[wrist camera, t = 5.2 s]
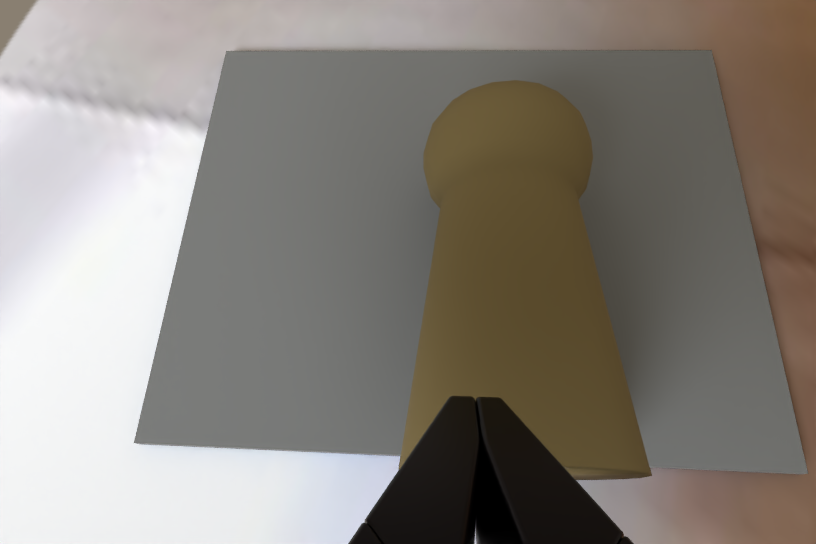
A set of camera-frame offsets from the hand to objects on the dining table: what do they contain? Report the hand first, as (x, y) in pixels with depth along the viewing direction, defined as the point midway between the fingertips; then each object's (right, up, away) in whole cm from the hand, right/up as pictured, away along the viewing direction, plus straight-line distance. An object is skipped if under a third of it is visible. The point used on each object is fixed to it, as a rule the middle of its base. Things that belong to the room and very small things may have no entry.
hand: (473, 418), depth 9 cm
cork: (+2, -3, +4) cm, 5 cm away
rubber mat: (+1, +4, +11) cm, 12 cm away
